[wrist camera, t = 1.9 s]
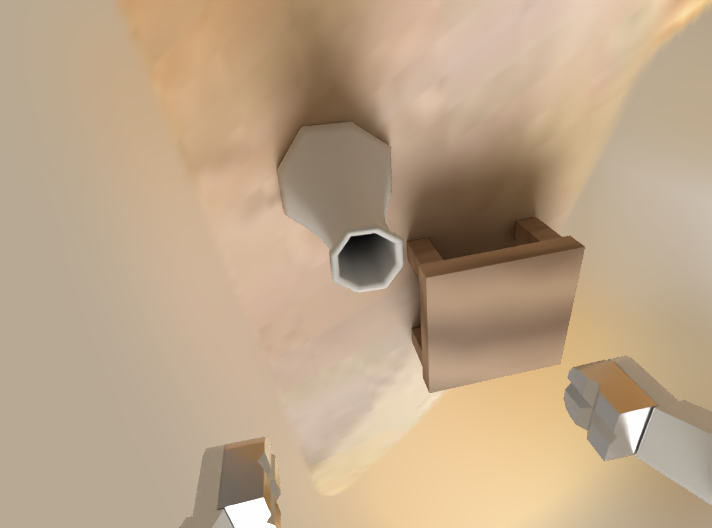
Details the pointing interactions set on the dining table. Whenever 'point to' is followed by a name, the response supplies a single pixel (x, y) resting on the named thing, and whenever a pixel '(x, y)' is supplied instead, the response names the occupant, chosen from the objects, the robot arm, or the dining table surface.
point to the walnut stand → (494, 307)
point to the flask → (344, 201)
